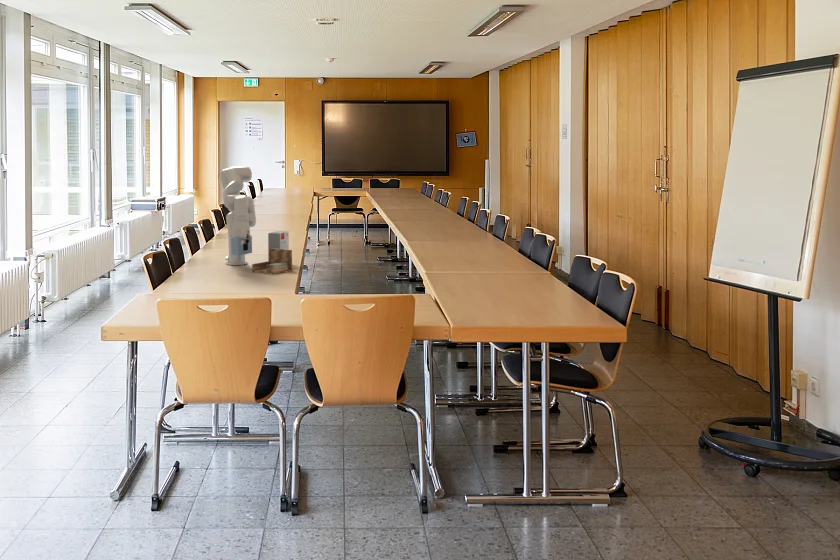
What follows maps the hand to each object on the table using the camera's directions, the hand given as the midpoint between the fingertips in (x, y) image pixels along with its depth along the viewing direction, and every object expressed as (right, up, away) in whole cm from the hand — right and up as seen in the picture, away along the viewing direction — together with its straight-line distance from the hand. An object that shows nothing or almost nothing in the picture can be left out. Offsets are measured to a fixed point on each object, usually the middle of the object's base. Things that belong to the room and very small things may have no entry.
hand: (241, 249), depth 505 cm
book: (0, -2, +1) cm, 3 cm away
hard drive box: (+18, -9, +23) cm, 30 cm away
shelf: (+18, -13, -2) cm, 22 cm away
